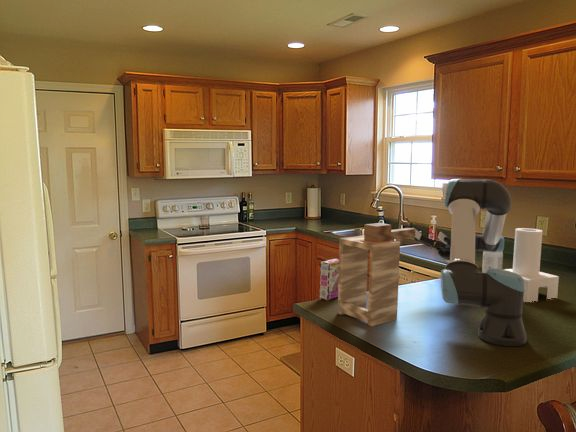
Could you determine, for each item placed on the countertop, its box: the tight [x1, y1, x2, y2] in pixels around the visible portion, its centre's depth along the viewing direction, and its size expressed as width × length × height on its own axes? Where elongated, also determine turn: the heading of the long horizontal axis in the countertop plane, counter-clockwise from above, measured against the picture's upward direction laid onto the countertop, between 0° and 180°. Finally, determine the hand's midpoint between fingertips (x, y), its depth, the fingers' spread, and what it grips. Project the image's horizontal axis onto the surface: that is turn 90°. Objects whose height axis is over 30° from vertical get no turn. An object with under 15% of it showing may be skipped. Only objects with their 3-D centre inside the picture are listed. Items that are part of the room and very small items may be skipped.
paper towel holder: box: [504, 227, 560, 303], centre depth 216 cm, size 19×19×30 cm
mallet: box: [363, 222, 416, 243], centre depth 183 cm, size 24×6×6 cm, turn 127°
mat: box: [360, 239, 396, 244], centre depth 179 cm, size 8×10×1 cm
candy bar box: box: [319, 258, 339, 302], centre depth 209 cm, size 11×5×16 cm, turn 141°
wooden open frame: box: [337, 234, 401, 327], centre depth 184 cm, size 18×14×30 cm
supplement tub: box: [481, 250, 504, 273], centre depth 248 cm, size 10×10×15 cm
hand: (425, 232), depth 200 cm, fingers open, 13 cm apart
